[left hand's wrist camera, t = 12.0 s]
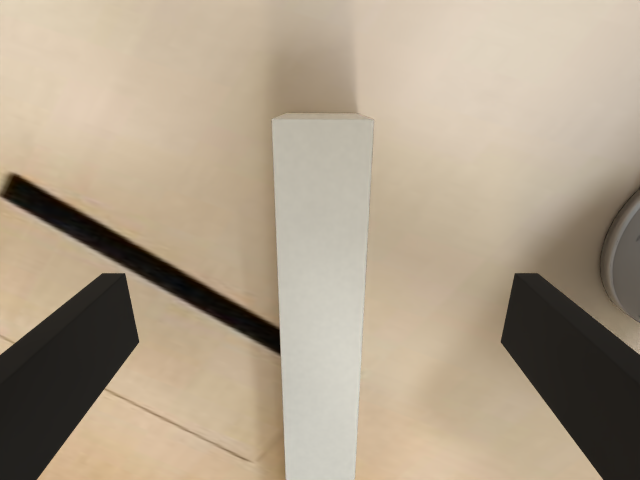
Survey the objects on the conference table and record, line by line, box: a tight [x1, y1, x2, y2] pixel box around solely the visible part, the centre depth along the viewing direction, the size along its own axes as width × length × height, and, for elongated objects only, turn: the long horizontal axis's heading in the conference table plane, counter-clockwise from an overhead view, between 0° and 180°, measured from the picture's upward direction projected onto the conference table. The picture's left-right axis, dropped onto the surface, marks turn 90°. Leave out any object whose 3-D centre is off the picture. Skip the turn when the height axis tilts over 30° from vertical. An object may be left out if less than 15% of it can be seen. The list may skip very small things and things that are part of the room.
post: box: [272, 113, 374, 480], centre depth 33 cm, size 59×5×9 cm, turn 0°
